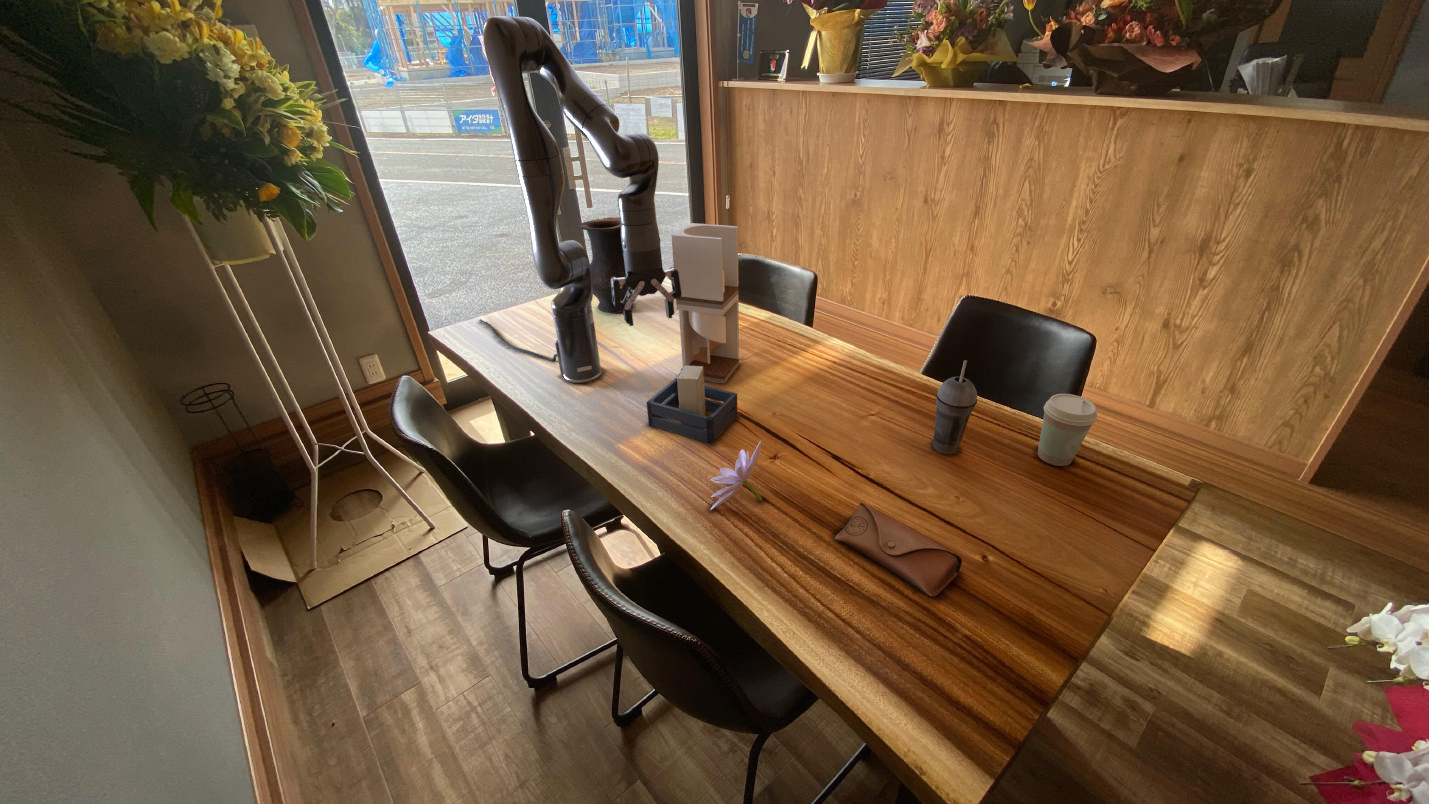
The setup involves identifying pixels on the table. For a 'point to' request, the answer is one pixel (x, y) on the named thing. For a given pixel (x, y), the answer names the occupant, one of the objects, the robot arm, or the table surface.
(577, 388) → the table surface
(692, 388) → the cosmetic box
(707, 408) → the crate
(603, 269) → the jug
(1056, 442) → the coffee cup
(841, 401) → the table surface
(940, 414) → the beverage cup
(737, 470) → the water lily
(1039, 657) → the table surface
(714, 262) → the two-tier display stand
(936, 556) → the sunglasses case
